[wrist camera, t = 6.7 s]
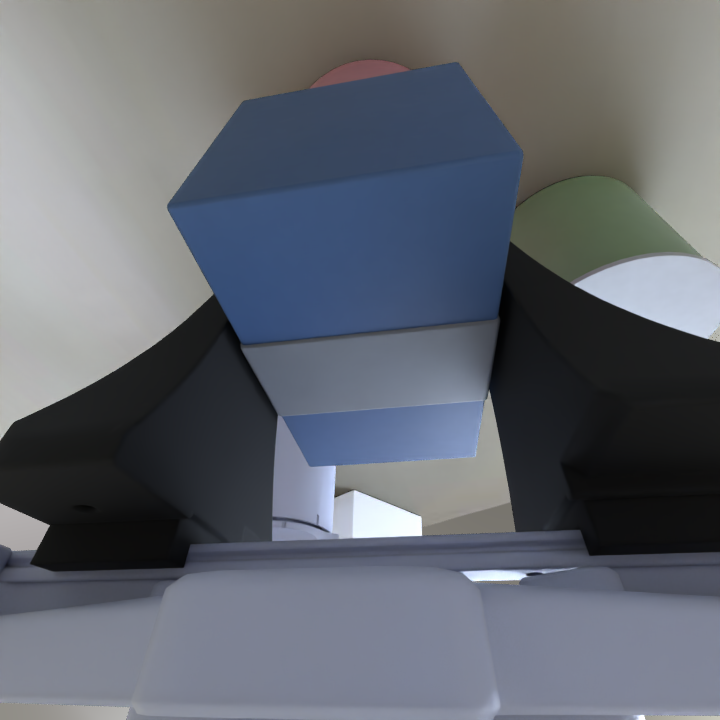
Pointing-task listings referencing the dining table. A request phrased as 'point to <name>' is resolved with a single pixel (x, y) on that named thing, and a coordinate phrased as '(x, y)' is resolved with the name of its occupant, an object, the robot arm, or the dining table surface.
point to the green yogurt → (619, 252)
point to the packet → (362, 257)
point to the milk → (371, 518)
